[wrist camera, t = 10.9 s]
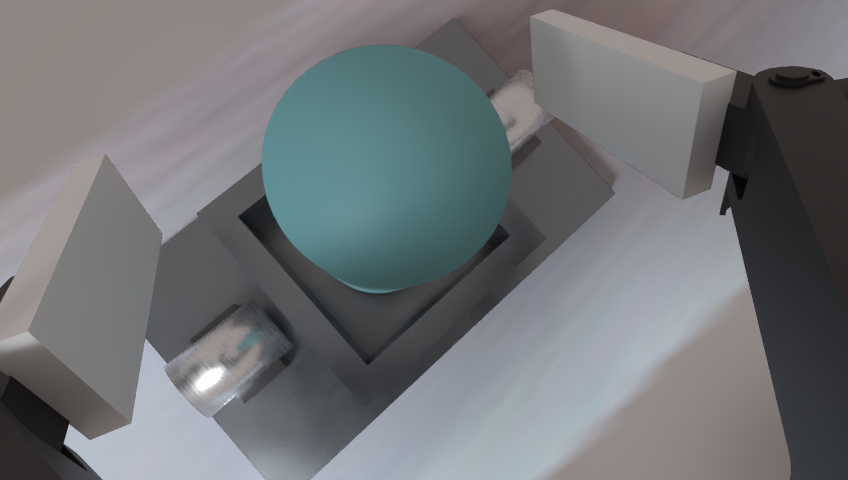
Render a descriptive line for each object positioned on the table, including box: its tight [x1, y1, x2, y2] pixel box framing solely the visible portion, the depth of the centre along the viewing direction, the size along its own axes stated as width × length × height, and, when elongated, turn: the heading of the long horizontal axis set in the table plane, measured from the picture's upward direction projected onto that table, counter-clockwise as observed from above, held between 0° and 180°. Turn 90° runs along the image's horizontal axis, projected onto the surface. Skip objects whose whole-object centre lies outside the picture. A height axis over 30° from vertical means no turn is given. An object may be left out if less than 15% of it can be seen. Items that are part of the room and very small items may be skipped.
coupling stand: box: [145, 18, 615, 480], centre depth 19 cm, size 19×11×4 cm, turn 132°
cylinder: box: [262, 45, 512, 294], centre depth 14 cm, size 4×4×12 cm
